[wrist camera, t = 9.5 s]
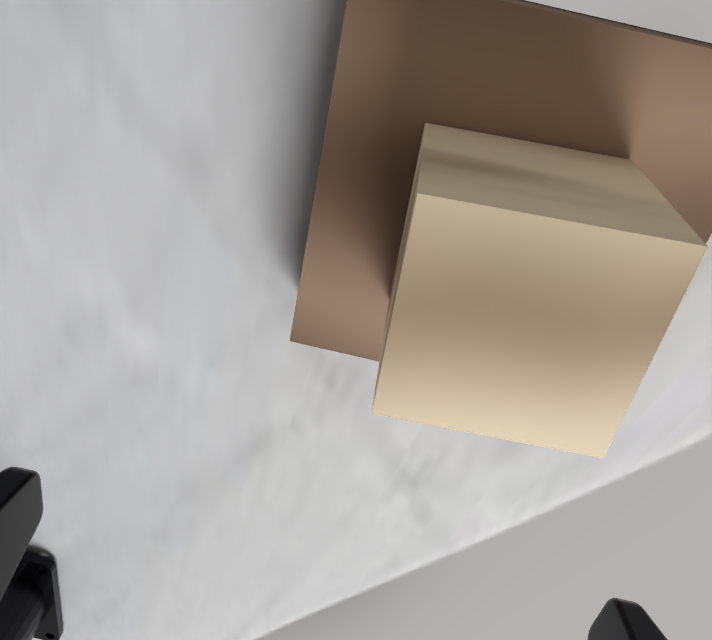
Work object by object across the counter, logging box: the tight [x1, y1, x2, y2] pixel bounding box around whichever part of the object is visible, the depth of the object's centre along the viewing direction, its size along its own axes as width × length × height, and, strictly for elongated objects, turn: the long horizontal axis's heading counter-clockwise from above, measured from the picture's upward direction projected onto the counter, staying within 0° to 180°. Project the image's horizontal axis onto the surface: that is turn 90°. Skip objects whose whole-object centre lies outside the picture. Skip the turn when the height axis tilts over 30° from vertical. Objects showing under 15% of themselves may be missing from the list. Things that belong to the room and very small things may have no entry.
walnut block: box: [290, 0, 712, 361], centre depth 17 cm, size 10×10×3 cm
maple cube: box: [372, 123, 708, 459], centre depth 14 cm, size 5×5×5 cm
